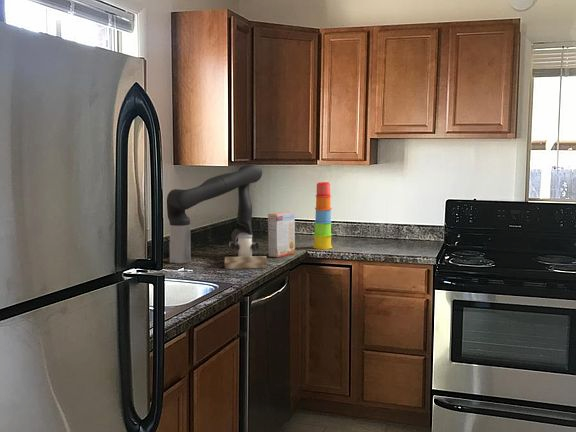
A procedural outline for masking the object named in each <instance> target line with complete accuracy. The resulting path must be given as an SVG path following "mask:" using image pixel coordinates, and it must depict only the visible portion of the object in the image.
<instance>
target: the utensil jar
mask: <svg viewBox="0 0 576 432" xmlns="http://www.w3.org/2000/svg"><path fill="white" fill-rule="evenodd" d="M238 244H239V250H237V255H238V256H237V257H251V256H253V250H252V235H249V234H242V235H238Z"/></svg>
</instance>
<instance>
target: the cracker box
mask: <svg viewBox="0 0 576 432" xmlns="http://www.w3.org/2000/svg"><path fill="white" fill-rule="evenodd" d="M295 218H296V216H295V212H294V211H292V212H291V211H283V212H274V213H268V214H267V234H268V239H267V240H268V241H267V242H268V244H267V245H268V257H269V258H281V257H286V256H291V255H295V254H296V243H295V242H296V239H295V238H296V235H295V234H296V227H295V225H296V224H295V223H296V222H295V221H296V220H295Z"/></svg>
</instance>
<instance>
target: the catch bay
mask: <svg viewBox="0 0 576 432" xmlns="http://www.w3.org/2000/svg"><path fill="white" fill-rule="evenodd" d="M267 259H268V258H267V255H266V256H265V255H264V256H263V255H258V256H253V255H252V256H251V257H238V256H224V269H225V270H226V269H227V270H230V269H231V270H232V269H233V270H234V269H240V270H241V269H267V268H268V267H267V265H268V264H267V262H268V261H267Z"/></svg>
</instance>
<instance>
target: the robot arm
mask: <svg viewBox="0 0 576 432" xmlns="http://www.w3.org/2000/svg"><path fill="white" fill-rule="evenodd" d="M262 175H263V170H262V168H261V167H260V166H259V164H255V163H251V164H245V165H242V166H241V165H240V167H239V169H238V170H237V171H233V172H228V173H227V172H226V173H223V174H219V175H215V176H213V177H210V178H208V179H206V180H205V181H203V183H201V184H200V185H198V186H195V187H193V188H189V189H181V188H180V189H179V188H175V189H171V190H170V191H169V192H168V194H167V197H166V212H167V219H168V220H169V222H168V223H169V245H168V246H169V263H170V264H188V263H191V262H192V261H191V260H192V259H191V258H192V256H191V219H190V217H188V215H187V213H186V210H188V209H191V208H193V207H195V206H196V205H198V204H200V203H202V202H204V201H208V200H212V199H214V198H217V197H220V196H222V195H224V194H227V193H230V192H232V191H234V190H236V189H237V191H238V192H237V194H238V206H237V208H238V209H237V217H236V223H237V224H238V225H241V226H243V227H245V229H239V228H236V229H234V230H233V231H232V232H231V235H230V236H231V237H230V238H231V241H229V243H228V245H229V248H230V249H231V250H237V251H238V250H239V244H238V235H242V234H249V235H252V251H253V250H254V249H256V250H257V249H259V248H260V240H257V241H255V242H254V233H253V228H252V227H253V226H252V217H253V205H252V200H251V197H250V186H251V184H254V183H257V182H259V181H260V180H261V178H262V177H263V176H262Z"/></svg>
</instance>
